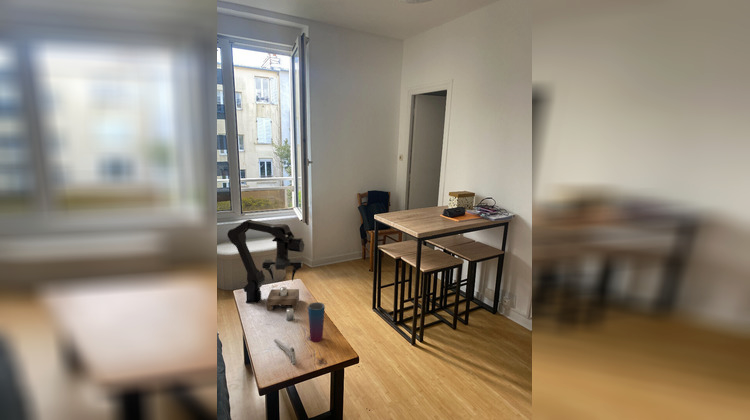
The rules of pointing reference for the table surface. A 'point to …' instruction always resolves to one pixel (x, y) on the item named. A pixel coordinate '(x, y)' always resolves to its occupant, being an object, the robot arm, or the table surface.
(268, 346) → the table surface
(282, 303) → the board
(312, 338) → the cup
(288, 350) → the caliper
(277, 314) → the table surface
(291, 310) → the short pin
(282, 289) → the long pin
